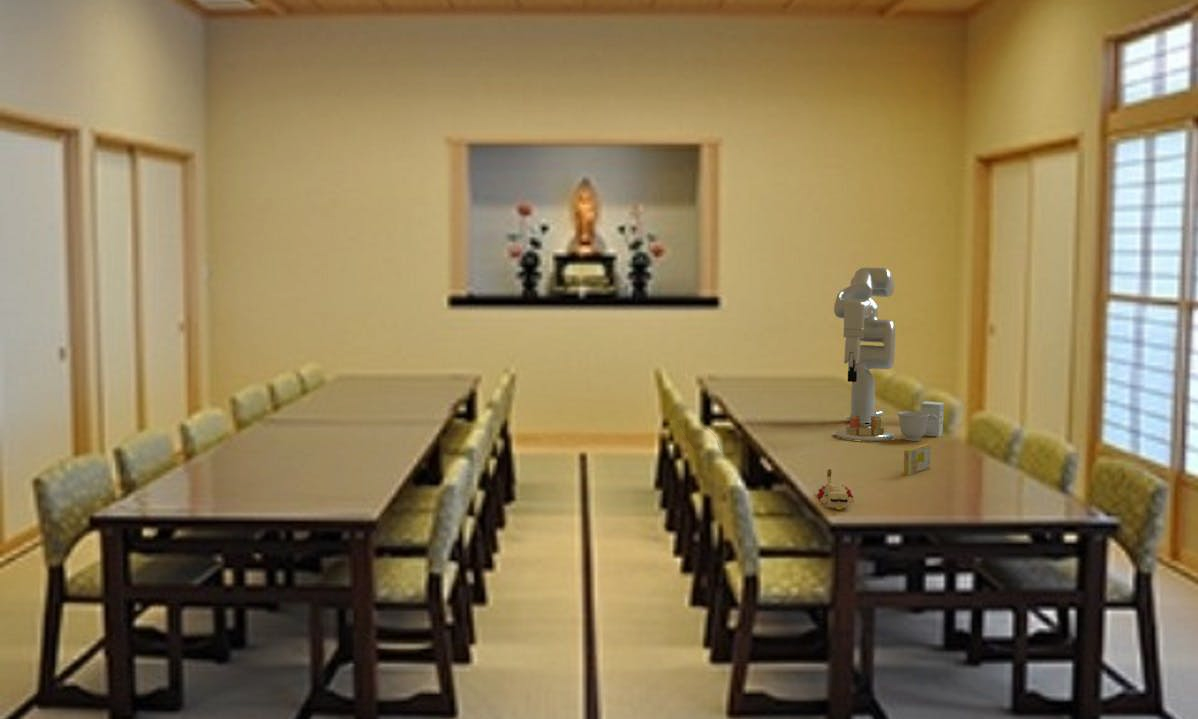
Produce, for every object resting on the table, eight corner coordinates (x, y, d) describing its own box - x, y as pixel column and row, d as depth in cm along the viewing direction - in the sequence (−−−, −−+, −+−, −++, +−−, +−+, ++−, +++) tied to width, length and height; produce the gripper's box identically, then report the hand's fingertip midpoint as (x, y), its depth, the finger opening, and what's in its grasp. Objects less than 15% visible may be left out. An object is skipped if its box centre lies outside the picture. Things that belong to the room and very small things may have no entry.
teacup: (938, 443, 462) (939, 416, 461) (896, 441, 465) (897, 415, 464) (936, 438, 474) (937, 412, 473) (895, 436, 477) (896, 410, 476)
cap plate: (865, 430, 490) (866, 420, 490) (906, 439, 471) (907, 428, 471) (823, 435, 478) (823, 424, 478) (863, 443, 460) (864, 432, 459)
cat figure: (811, 497, 370) (821, 509, 345) (811, 468, 370) (822, 477, 345) (844, 498, 369) (857, 510, 344) (845, 469, 369) (858, 478, 344)
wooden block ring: (838, 431, 477) (838, 416, 476) (864, 428, 484) (865, 413, 484) (865, 436, 465) (865, 421, 464) (891, 433, 473) (892, 418, 472)
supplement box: (919, 435, 481) (920, 403, 479) (923, 432, 487) (925, 400, 486) (938, 437, 477) (940, 404, 476) (943, 434, 484) (944, 402, 482)
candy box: (924, 468, 413) (925, 443, 412) (930, 468, 412) (931, 444, 411) (902, 474, 401) (903, 449, 400) (908, 475, 399) (909, 450, 399)
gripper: (846, 331, 481) (844, 378, 482) (841, 334, 466) (839, 383, 468) (865, 332, 478) (864, 379, 480) (861, 335, 464) (860, 384, 466)
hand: (852, 381), depth 474 cm, fingers closed
